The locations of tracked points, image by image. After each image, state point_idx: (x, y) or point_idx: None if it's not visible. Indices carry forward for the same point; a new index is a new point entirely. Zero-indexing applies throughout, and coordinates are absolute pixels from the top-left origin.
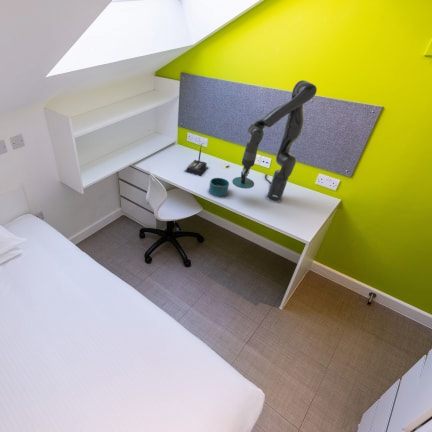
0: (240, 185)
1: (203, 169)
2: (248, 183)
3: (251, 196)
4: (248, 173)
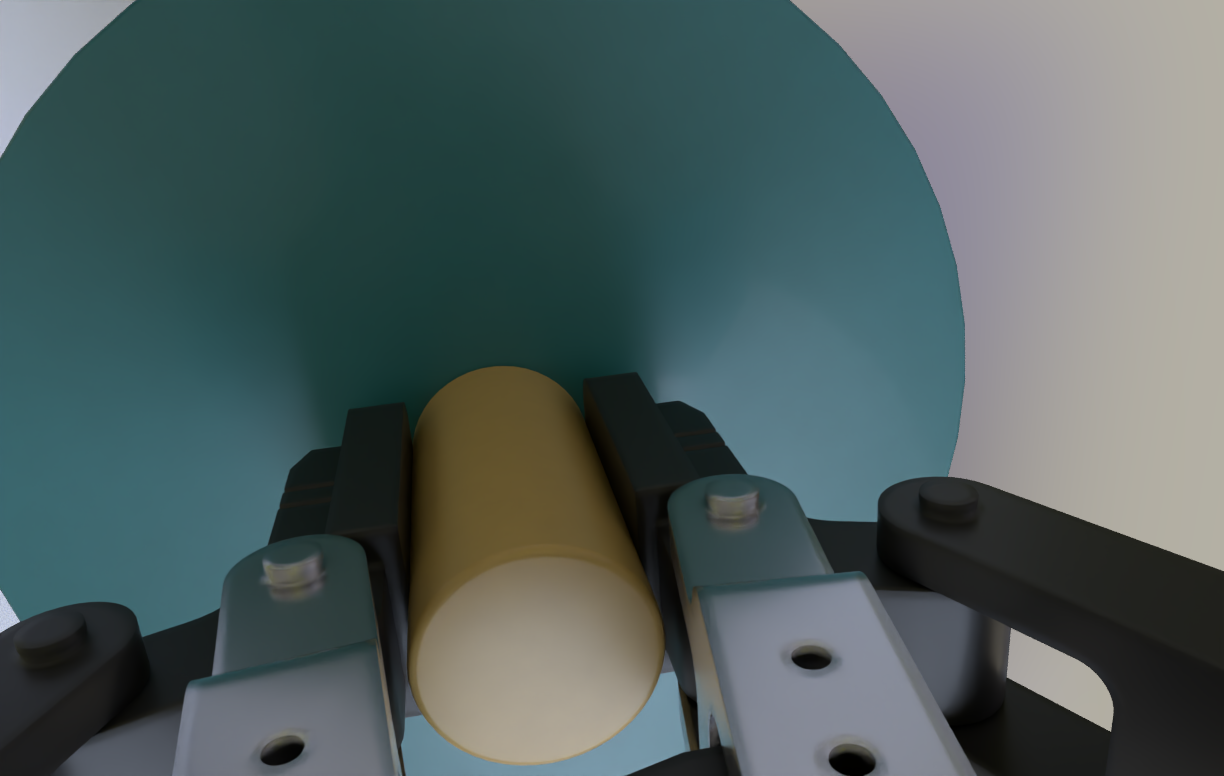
0: (852, 409)
1: None
2: (450, 204)
3: (27, 36)
4: (90, 626)
